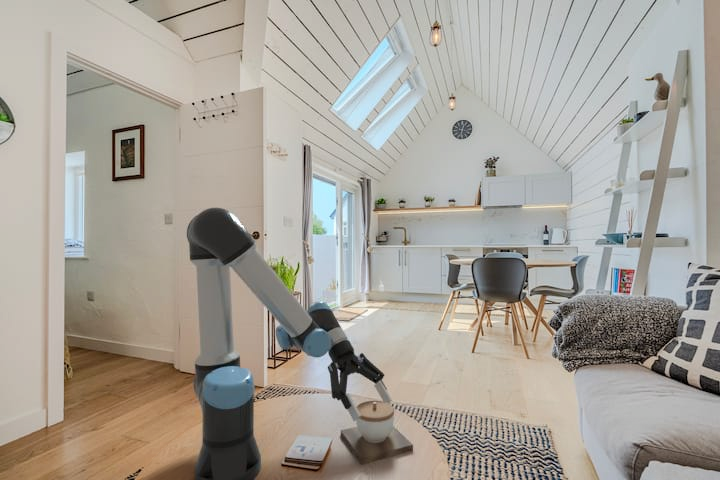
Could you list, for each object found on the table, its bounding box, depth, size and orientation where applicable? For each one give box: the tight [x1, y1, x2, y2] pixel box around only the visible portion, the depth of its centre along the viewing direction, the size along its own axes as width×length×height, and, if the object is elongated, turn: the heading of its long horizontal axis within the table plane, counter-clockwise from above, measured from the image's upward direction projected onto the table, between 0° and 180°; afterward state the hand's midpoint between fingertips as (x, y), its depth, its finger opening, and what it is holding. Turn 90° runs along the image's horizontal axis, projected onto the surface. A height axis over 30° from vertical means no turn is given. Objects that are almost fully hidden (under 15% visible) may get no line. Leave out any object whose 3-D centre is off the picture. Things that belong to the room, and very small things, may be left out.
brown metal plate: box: [340, 425, 414, 465], centre depth 96 cm, size 15×15×2 cm
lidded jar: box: [355, 400, 395, 443], centre depth 96 cm, size 11×11×9 cm
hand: (374, 410), depth 97 cm, fingers open, 13 cm apart
